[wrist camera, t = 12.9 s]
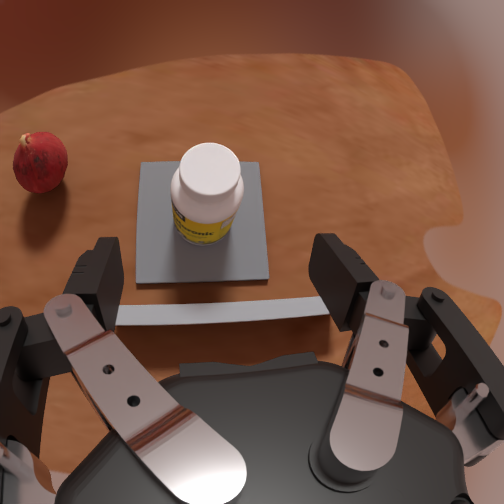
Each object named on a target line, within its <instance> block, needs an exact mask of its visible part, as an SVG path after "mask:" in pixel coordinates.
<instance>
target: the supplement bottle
mask: <svg viewBox="0 0 504 504" xmlns="http://www.w3.org/2000/svg"><path fill="white" fill-rule="evenodd" d="M240 173H241V168H240V163H239V160H238V158H237V157H236V155H235V154H234V153H233V152H232V151H231V150H230V149H228V148H227V147H225V146H223V145H220V144H216V143H203V144H199V145H196V146H194V147H192V148H191V149H189V150H188V151H187V152H186V153H185V155H184V156H183V158H182V160H181V162H180V166H179V168H178V169H177V170H176V172H175V173H174V175H173V178H172V181H171V189H170V191H171V202H172V212H173V220H174V224H175V227H176V229H177V231H178V233H179V234H180V235H181V236H182V237H183V238H184V239H185V240H186V241H188V242H190V243H192V244H195V245H202V246H204V245H211V244H214V243H216V242H218V241H219V240H221V239H222V238H223V237H224V236H225V235H226V234H227V232H228V231H229V229H230V227H231V225H232V223H233V220H234V218H235V215H236V213H237V211H238V208H239V206H240V204H241V201H242V198H243V194H244V184H243V180H242V177H241V174H240Z"/></svg>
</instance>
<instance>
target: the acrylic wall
mask: <svg viewBox="0 0 504 504" xmlns="http://www.w3.org/2000/svg"><path fill="white" fill-rule="evenodd" d="M326 314H330V313H329V311H328V309H327V308H326V306H325V304H324V302H323V301H322V299H321V297H320V296H319V297H306V298H293V299H279V300H263V301H246V302H226V303H203V304H172V305H119V309H118V314H117V319H116V324H115V326H146V325H188V324H212V323H231V322H247V321H261V320H274V319H286V318H297V317H307V316H317V315H326Z"/></svg>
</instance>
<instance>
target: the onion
mask: <svg viewBox="0 0 504 504" xmlns="http://www.w3.org/2000/svg"><path fill="white" fill-rule="evenodd" d="M19 141H20V145H19V146H18V148H17V150H16V152H15V155H14V161H13V170H14V173H15V176H16V179H17V181H18V182H19V184H20V185H21V186H22V187H23V188H24V189H26V190H27V191H29V192H33V193H44V192H49V191H51V190H52V189H54V188H55V187H56V186H58V185H59V183H60V182H61V180H62V179H63V177H64V175H65V171H66V168H67V165H68V161H67V151H66V149H65V147H64V145H63V143H62V142H61V140H60V139H59V138H57V137H56V136H54V135H53V134H51V133H49V132H36V133H34V134H31V135H30V134H29V133H26V134H23V135H22V137H21V139H20V140H19Z"/></svg>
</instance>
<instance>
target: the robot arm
mask: <svg viewBox="0 0 504 504" xmlns="http://www.w3.org/2000/svg"><path fill="white" fill-rule="evenodd" d="M309 277H310V280H311V281H312V283H313V285H314V287H315V288H316V290H317V292H318V294H319V295H320V297H321V299H322V301H323V302H324V304H325V306H326V308H327V309H328V311H329V313H330V315H331V316H332V318H333V320H334V322H335V324H336V325H337V327H338V329H339V331H340V332H343V331H349V330H352V332H353V334H352V336H351V339H350V341H349V345H348V348H347V351H346V354H345V357H344V360H343V363H342V366H339V365H336V364H333V363H329V362H323V361H317V359H316V356H315V354H314V352H307V353H299V354H292V355H283V356H280V357H277V358H274V359H272V360H269V361H266V362H263V363H260V364H257V365H253V366H243V365H234V364H226V363H218V362H204V363H182V364H179V366H180V374H177V375H173V376H170V377H168V378H165V379H163V380H161V381H159V382H157V381H156V380H155V379H154V378H153V377H152V376H151V375H150V374H149V373H148V371H147V370H146V369H145V368H144V367H143V366H142V365H141V364H140V363H139V361H138V360H137V359H136V358H135V357H134V356H133V355H132V354H131V352H130V351H129V350H128V349H127V348H126V347H125V345H124V344H123V343H122V342H121V341H120V339H119V338H118V337H117V336H116V335H115V333H114V330H115V324H116V319H117V314H118V309H119V304H120V299H121V294H122V290H123V285H124V273H123V266H122V259H121V253H120V246H119V240H118V238H117V237H100V238H99V239H98V241H97V243H96V245H95V247H94V249H93V250H87V251H86V252H85V253H84V254H82V255H81V256H80V257H79V259H78V261H77V263H76V265H75V267H74V269H73V271H72V274H71V276H70V278H69V280H68V282H67V284H66V287H65V289H64V291H63V294H62V295H59V296H56V297H54V298H53V299H51V300H50V301H49V302H48V303H47V304H46V306H45V308H44V313H41V314H37V315H33V316H29V317H23V314H22V312H21V310H20V309H19V308H17V307H13V306H9V307H4V308H2V309H0V504H474V503H473V502H472V501H471V499H470V497H469V495H468V492H467V487H466V482H465V474H464V466H467V467H470V466H473V465H475V464H477V463H478V462H479V461H481V460H482V459H483V458H485V457H486V456H487V455H488V454H490V453H491V452H492V451H494V450H495V449H496V448H497V447H499V446H500V445H501V444H502V443H503V442H504V366H503V365H502V363H501V362H500V361H499V359H498V358H497V356H496V355H495V354H494V352H493V351H492V349H491V348H490V347H489V345H488V344H487V343H486V341H485V340H484V339H483V338H482V336H481V335H480V334H479V332H478V331H477V330H476V329H475V327H474V326H473V325H472V324H471V322H470V321H469V320H468V319H467V317H466V316H465V315H464V314H463V312H462V311H461V310H460V309H459V308H458V306H457V305H456V304H455V303H454V302H453V300H452V299H451V298H450V297H449V296H448V295H447V294H446V293H445V292H443V291H441V290H439V289H437V288H433V287H427V288H425V289H423V291H422V293H421V295H420V298H417V297H410V296H405V293H404V291H403V290H402V289H401V288H400V287H399V286H398V285H396V284H394V283H392V282H389V281H385V280H379V279H378V277H377V276H376V275H375V274H374V273H373V271H372V270H371V269H370V268H369V267H368V265H366V264H365V262H364V261H363V260H362V259H361V257H360V256H359V255H358V254H357V253H356V251H355V250H353V249H352V248H350V247H349V246H347V245H345V244H343V243H342V241H341V240H340V239H339V238H338V237H337V236H336V234H334V233H318V234H316V236H315V238H314V243H313V248H312V253H311V257H310V262H309ZM436 334H438V336H439V337H440V338H441V340H442V341H443V343H444V344H445V347H446V355H445V357H444V359H443V360H442V359H441V357H440V356H439V354H438V353H437V351H436V350H435V348H434V347H433V345H432V344H431V343H432V341H433V339H434V338H435V336H436ZM406 364H407V365H408V367H409V369H410V371H411V373H412V374H413V376H414V378H415V380H416V381H417V383H418V385H419V387H420V389H421V391H422V392H423V394H424V396H425V398H426V400H427V402H428V404H429V406H430V407H431V409H432V411H433V413H434V415H435V417H436V420H434V419H433V418H431V417H429V416H427V415H425V414H423V413H422V412H420V411H418V410H416V409H415V408H413V407H411V406H409V405H407V404H406V403H404V402H402V401H401V394H402V388H403V381H404V373H405V365H406ZM68 372H71V374H72V376H73V378H74V379H75V381H76V382H77V384H78V386H79V387H80V389H81V391H82V392H83V394H84V395H85V397H86V398H87V400H88V401H89V403H90V404H91V406H92V407H93V409H94V410H95V412H96V413H97V415H98V417H99V418H100V420H101V421H102V423H103V424H104V425H105V427H106V428H107V430H108V431H109V433H108V434H107V435H106V436H105V437H104V438H103V439H102V440H101V441H100V443H99V444H98V445H97V446H96V447H95V448H94V449H93V450H92V451H91V452H90V453H89V454H88V456H87V457H86V458H85V459H84V460H83V461H82V462H81V463H80V464H79V465H78V466H77V467H76V469H75V470H74V471H73V472H72V473H71V474H70V475H69V476H68V477H67V478H66V479H65V480H64V482H63V483H62V484H61V486H60V487H59V489H58V491H57V494H56V492H55V491H54V489H53V486H52V481H51V475H50V472H49V470H48V468H47V466H46V465H45V464H44V463H43V462H42V461H41V460H40V459H39V454H40V442H41V433H42V424H43V417H44V410H45V403H46V397H47V391H48V386H49V380H50V376H55V375H59V374H64V373H68Z"/></svg>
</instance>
